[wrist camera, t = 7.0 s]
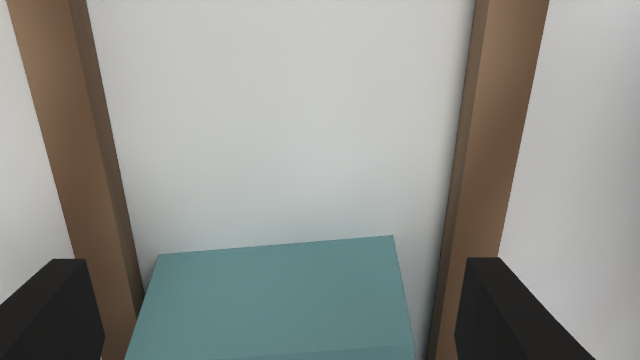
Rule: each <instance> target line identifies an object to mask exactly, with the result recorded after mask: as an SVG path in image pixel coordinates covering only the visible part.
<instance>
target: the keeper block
mask: <svg viewBox="0 0 640 360" xmlns="http://www.w3.org/2000/svg"><path fill="white" fill-rule="evenodd" d="M124 360H415V358H414V340H413V335H412V330H411V324H410V319H409V314H408V309H407V304H406V299H405V294H404V289H403V284H402V278H401V273H400V268H399V263H398V258H397V253H396V248H395V243H394V238H393V235H390V236H378V237H366V238H354V239H342V240H330V241H317V242H305V243H293V244H281V245H269V246H257V247H245V248H233V249H221V250H209V251H197V252H185V253H172V254H160V255H158V258H157V262H156V265H155V268H154V271H153V274H152V277H151V280H150V283H149V286H148V289H147V292H146V295H145V298H144V301H143V304H142V307H141V310H140V313H139V316H138V319H137V322H136V325H135V328H134V332H133V335H132V338H131V341H130V344H129V347H128V350H127V353H126V356H125V359H124Z"/></svg>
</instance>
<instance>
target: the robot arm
mask: <svg viewBox="0 0 640 360" xmlns="http://www.w3.org/2000/svg"><path fill="white" fill-rule="evenodd" d="M454 338H455V344H456V350H457V356H458V360H596V359H595V358H594V357H592V356H591V355H590V354H589V353H588V352H587V351H586V350H585V349H584V348H583V347H582V346H581V345H580V344H579V343H578V342H577V341H576V340H575V339H574V338H573V337H572V336H571V335H570V333H569V332H568V331H567V330H566V329H565V328H564V327H563V326H562V325H561V324H560V323H559V322H558V321H557V320H556V319H555V318H554V317H553V316H552V315H551V314H550V313H549V312H548V311H547V309H546V308H545V307H544V306H543V305H542V304H541V303H540V302H539V301H538V300H537V299H536V297H535V296H534V295H533V294H532V293H531V292H530V291H529V290H528V289H527V287H526V286H525V285H524V284H523V283H522V282H521V281H520V280H519V278H518V277H517V276H516V275H515V274H514V273H513V272H512V271H511V270H510V268H509V267H508V266H507V265H506V264H505V263H504V262H503V261H502V260H501V259H500V258H499V257H467V261H466V267H465V273H464V278H463V284H462V290H461V296H460V302H459V308H458V314H457V320H456V325H455V331H454ZM104 341H105V333H104V329H103V325H102V321H101V317H100V313H99V309H98V305H97V302H96V298H95V294H94V290H93V286H92V282H91V278H90V274H89V271H88V267H87V263H86V259H52V260H51V261H50V262H49V263H48V264H46V265H45V266H44V267H43V268H42V269H40V270H39V271H38V272H37V273H36V274H35V275H34V276H32V277H31V278H30V279H29V280H28V281H27V282H26V283H25V284H23V285H22V286H21V287H20V288H19V289H18V290H17V291H16V292H14V293H13V294H12V295H11V296H10V297H9V298H8V299H7V300H5V301H4V302H3V303H2V304H1V305H0V360H100V357H101V353H102V349H103V345H104Z"/></svg>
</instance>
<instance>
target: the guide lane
mask: <svg viewBox="0 0 640 360" xmlns="http://www.w3.org/2000/svg"><path fill="white" fill-rule="evenodd" d="M6 2H7V6H8V9H9V13H10V17H11V20H12V24H13V28H14V32H15V35H16V39H17V43H18V47H19V50H20V54H21V58H22V61H23V65H24V69H25V73H26V76H27V80H28V84H29V88H30V91H31V95H32V99H33V102H34V106H35V110H36V114H37V117H38V121H39V125H40V129H41V132H42V136H43V140H44V143H45V147H46V151H47V155H48V158H49V162H50V166H51V170H52V173H53V177H54V181H55V184H56V188H57V192H58V196H59V199H60V203H61V207H62V211H63V214H64V218H65V222H66V225H67V229H68V233H69V237H70V240H71V244H72V248H73V252H74V255H75V259H86V263H87V267H88V271H89V274H90V278H91V282H92V286H93V290H94V294H95V298H96V302H97V305H98V309H99V313H100V317H101V321H102V325H103V329H104V333H105V341H104V345H103V349H102V353H101V356H102V360H124V359H125V356H126V353H127V350H128V347H129V344H130V341H131V338H132V335H133V332H134V328H135V325H136V322H137V319H138V316H139V313H140V310H141V307H142V304H143V301H144V298H145V296H144V291H143V286H142V281H141V276H140V271H139V266H138V261H137V256H136V251H135V246H134V241H133V236H132V230H131V225H130V220H129V215H128V210H127V205H126V200H125V195H124V190H123V185H122V180H121V175H120V170H119V165H118V160H117V155H116V150H115V145H114V140H113V135H112V130H111V125H110V120H109V115H108V110H107V105H106V100H105V95H104V90H103V85H102V80H101V75H100V70H99V65H98V60H97V55H96V50H95V45H94V40H93V35H92V30H91V25H90V20H89V15H88V10H87V5H86V0H6ZM548 5H549V0H476V5H475V13H474V20H473V27H472V34H471V41H470V48H469V56H468V63H467V70H466V77H465V84H464V91H463V99H462V106H461V113H460V120H459V127H458V134H457V141H456V149H455V156H454V163H453V170H452V177H451V184H450V192H449V199H448V206H447V213H446V220H445V227H444V235H443V242H442V249H441V256H440V263H439V270H438V278H437V285H436V292H435V299H434V306H433V313H432V321H431V328H430V335H429V342H428V349H427V356H426V360H458V356H457V350H456V344H455V338H454V331H455V325H456V320H457V314H458V308H459V302H460V296H461V290H462V284H463V278H464V273H465V267H466V261H467V257H497V256H498V251H499V246H500V241H501V236H502V231H503V227H504V222H505V217H506V212H507V207H508V202H509V197H510V192H511V187H512V182H513V177H514V172H515V167H516V163H517V158H518V153H519V148H520V143H521V138H522V133H523V128H524V123H525V118H526V113H527V108H528V103H529V99H530V94H531V89H532V84H533V79H534V74H535V69H536V64H537V59H538V54H539V49H540V44H541V40H542V35H543V30H544V25H545V20H546V15H547V10H548Z"/></svg>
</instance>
